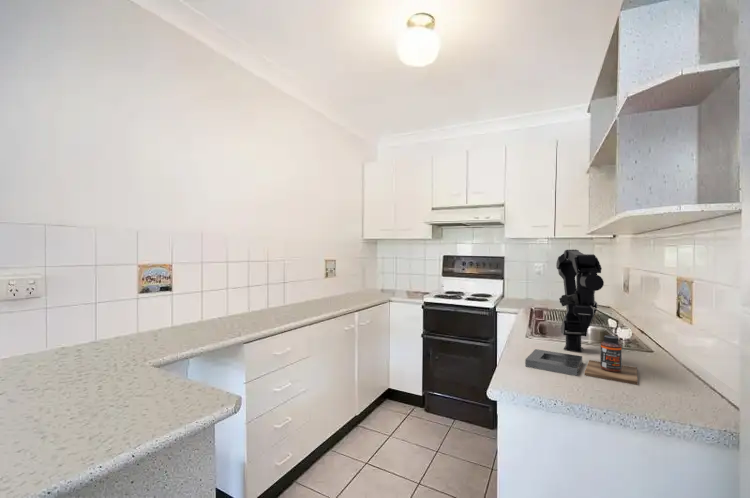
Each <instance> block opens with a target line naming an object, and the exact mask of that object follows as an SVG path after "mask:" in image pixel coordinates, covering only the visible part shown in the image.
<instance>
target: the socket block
mask: <svg viewBox="0 0 750 498" xmlns="http://www.w3.org/2000/svg"><path fill="white" fill-rule="evenodd" d="M524 361H525V367H527V368H532V369H533V368H534V369H539V370H543V371H549V372H554V373H559V374H564V375H571V376H578V374H579V372H580V369H581V367H582V365H583V356H582V355H578V354H576V355H575V354H569V353H564V352H563V353H562V352H557V351H556V352H555V351H551V350H550V351H549V350H544V349H538V348H537V349H535V348H534V349H533V351H532V352H531V353H530V354H529V355H528V356H527V357H526V358H525V360H524Z"/></svg>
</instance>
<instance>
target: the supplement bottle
mask: <svg viewBox="0 0 750 498" xmlns="http://www.w3.org/2000/svg"><path fill="white" fill-rule="evenodd" d="M622 347H623V346H622V344H620V343H619V337H618V336H616V335H610V334H607V335H604V336H603V341H601V342H600V362H601V368H602V369H604V370H606V371H610V372H620V371H621V370H622V365H623V364H622V363H623V362H622V361H623V360H622V356H623V355H622V354H623V351H622V350H623V348H622Z"/></svg>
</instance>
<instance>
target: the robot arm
mask: <svg viewBox="0 0 750 498" xmlns="http://www.w3.org/2000/svg"><path fill="white" fill-rule="evenodd" d="M556 269H557V270H558V271H557V272H558V275H559V276H560V277H561V279H563V280H562V281H563V287H564V294H562V295H561V297H559V303H560V304H561V307H566V312H565V314H564V316H563V320H562V323H561V324H560V325H561V326H560V333H561V334H562V335H563V336H565V346H564V347H563V350H564V351H565V350H566V351H570V352H571V351H573V352H579V353H582V352H583V350H584V347H583V346H582V337H587V335H588V329H589V328H590V326H591V323H592V321H593V320H594V317H595V314H596V313H597V310H598V302H597V301H596V300H595V293H596V291H597V292H598V291H600V290H601V289H602V288H603V287H604V284H605V282H604V281H605V280H604V278H602V277H601V276H600V275H599V274H601V273H602V265H601V264H600V260H599V258H598V257H597V256H596V254H594V253H593V254H591V253H590V254H586V253H585V254H584V253H583V252H581V251H580V250H579V249H565V250H564V252H563V253H562V254H561V255H560V256H557V261H556Z"/></svg>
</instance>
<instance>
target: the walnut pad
mask: <svg viewBox="0 0 750 498" xmlns="http://www.w3.org/2000/svg"><path fill="white" fill-rule="evenodd" d="M584 376H585V377H592V378H596V379H603V380H607V381H614V382H620V383H624V384H630V385H636V386H638V383H639V382H638V367H636V366H630V365H624V364H622V370H621V371H620V372H610V371H606V370H604V369H602V368H601V361H597V360H592V359H589V360H588V362H587V365H586V368H585V370H584Z"/></svg>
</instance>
